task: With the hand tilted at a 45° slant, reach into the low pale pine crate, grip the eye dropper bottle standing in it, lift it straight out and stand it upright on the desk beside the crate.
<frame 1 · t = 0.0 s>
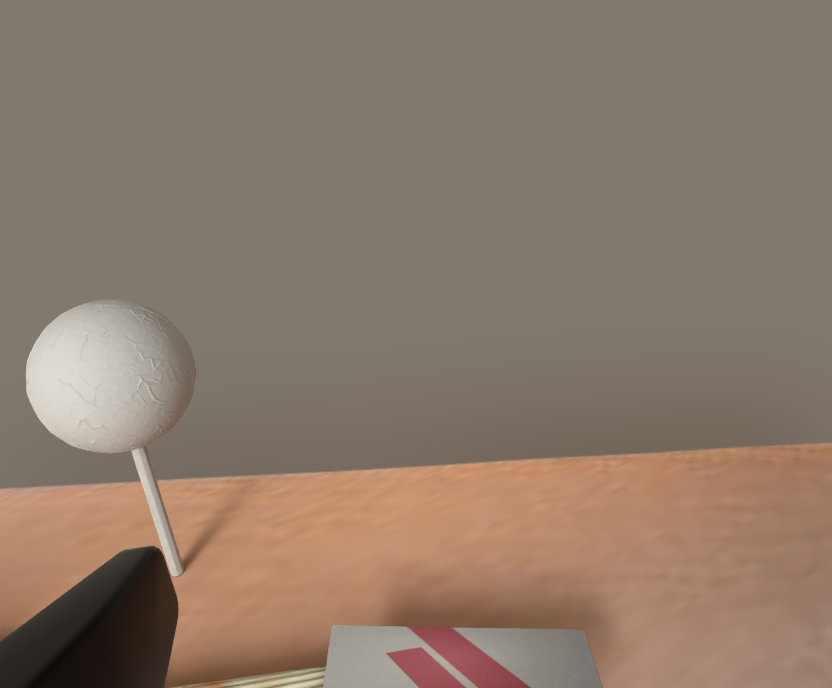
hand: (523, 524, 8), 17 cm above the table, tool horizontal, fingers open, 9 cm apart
lollipop: (178, 575, 34), on the table
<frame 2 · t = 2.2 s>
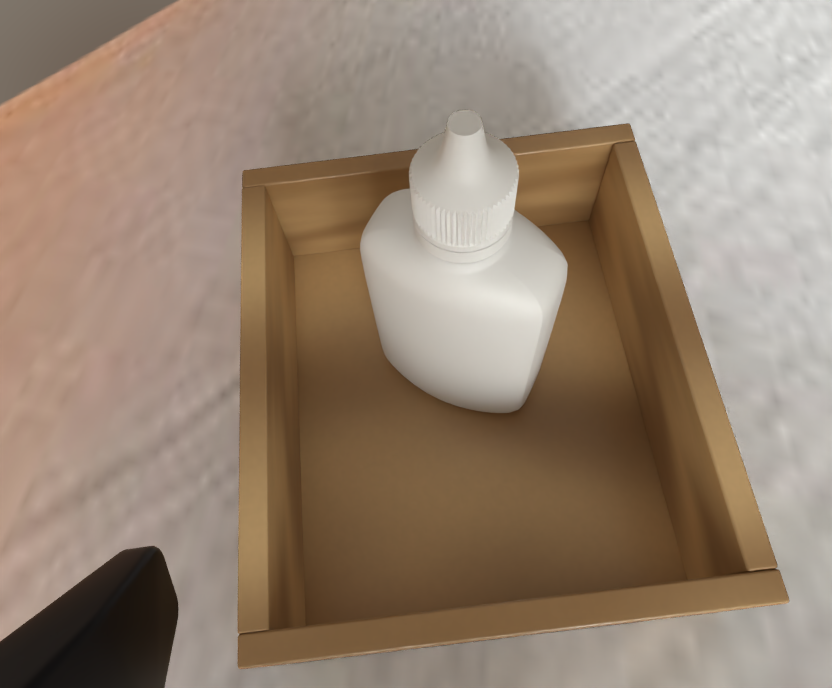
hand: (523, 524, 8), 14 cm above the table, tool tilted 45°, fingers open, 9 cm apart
eye dropper bottle: (459, 364, 24), resting on crate
crate: (465, 403, 23), on the table
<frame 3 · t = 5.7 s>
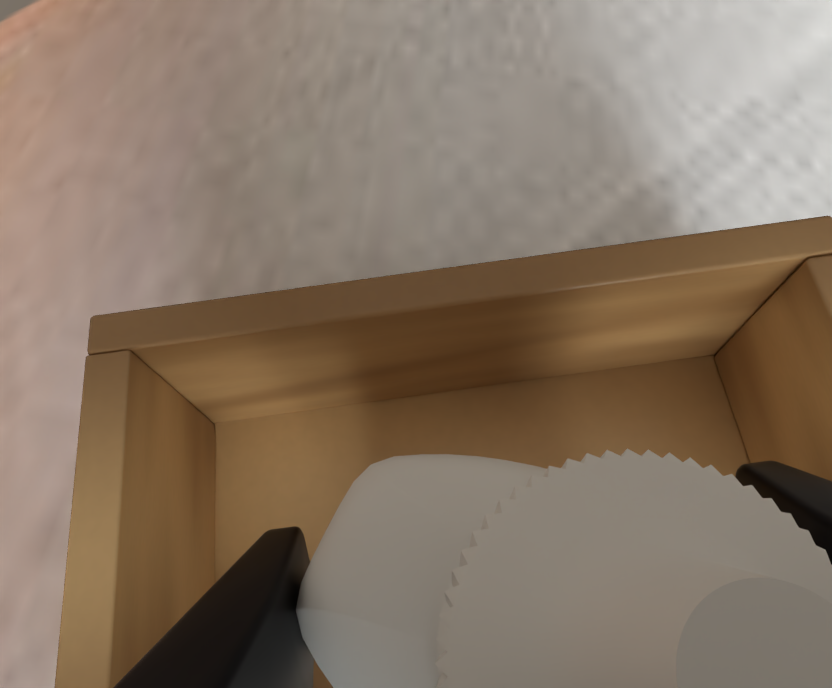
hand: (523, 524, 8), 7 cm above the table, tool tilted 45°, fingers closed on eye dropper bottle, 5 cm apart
eye dropper bottle: (505, 640, 13), resting on crate, touching gripper
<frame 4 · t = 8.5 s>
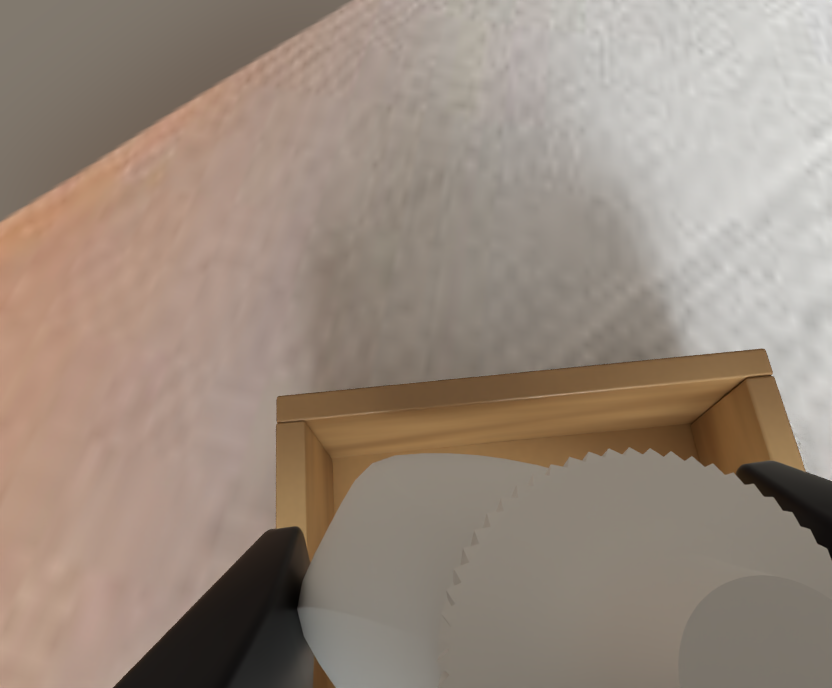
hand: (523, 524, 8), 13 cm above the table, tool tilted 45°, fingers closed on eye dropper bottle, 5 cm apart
eye dropper bottle: (506, 640, 13), point 7 cm above the table, touching gripper
crate: (543, 674, 19), on the table
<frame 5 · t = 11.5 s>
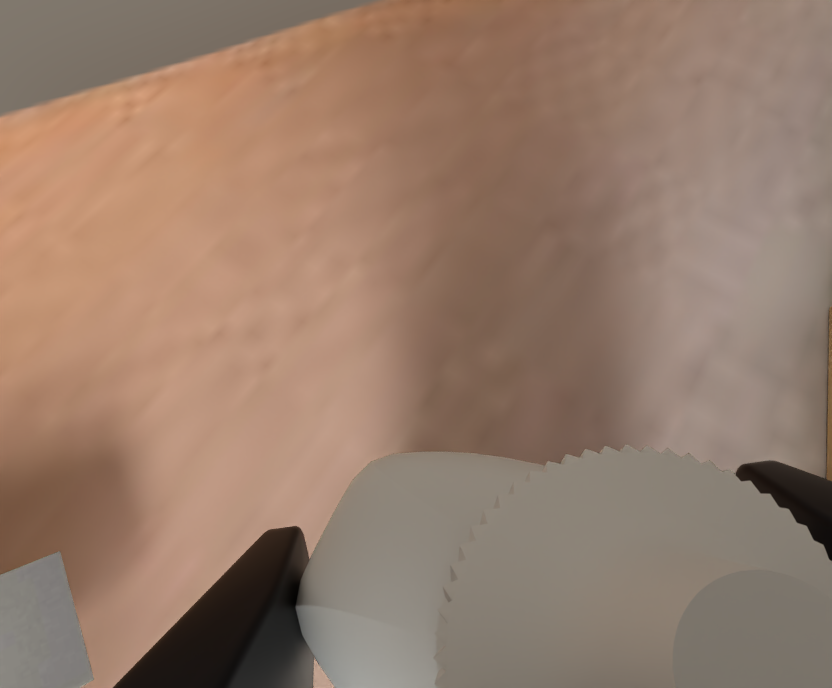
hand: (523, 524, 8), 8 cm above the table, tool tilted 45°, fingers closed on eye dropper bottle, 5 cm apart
eye dropper bottle: (505, 639, 13), point 1 cm above the table, touching gripper
when the fingers open (6 cm above the table, at t = 12.5 s): eye dropper bottle stays where it is, on the table.
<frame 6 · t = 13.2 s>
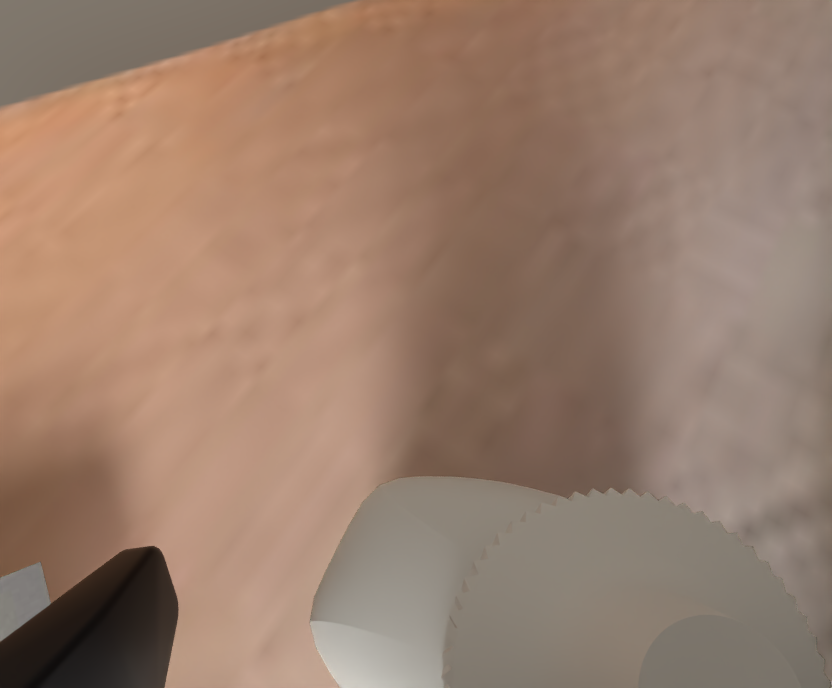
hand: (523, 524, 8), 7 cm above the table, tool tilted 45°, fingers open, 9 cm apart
eye dropper bottle: (504, 646, 14), on the table
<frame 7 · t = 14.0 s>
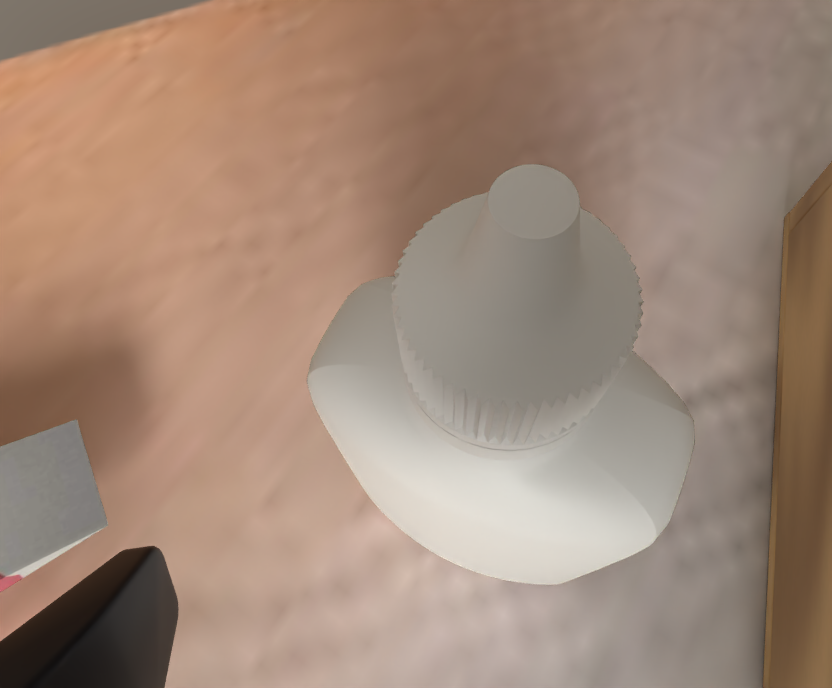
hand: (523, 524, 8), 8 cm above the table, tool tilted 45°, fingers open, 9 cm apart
eye dropper bottle: (475, 497, 16), on the table
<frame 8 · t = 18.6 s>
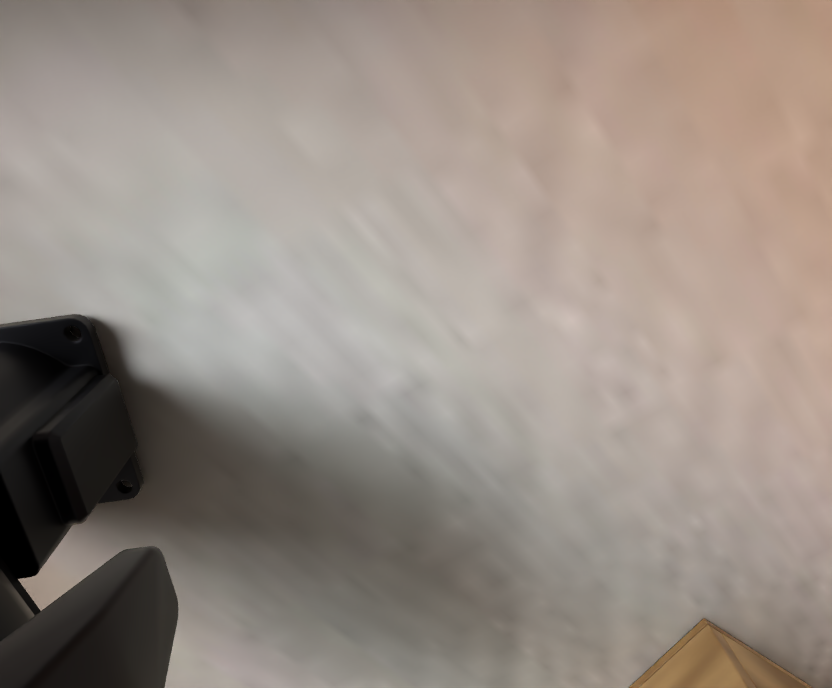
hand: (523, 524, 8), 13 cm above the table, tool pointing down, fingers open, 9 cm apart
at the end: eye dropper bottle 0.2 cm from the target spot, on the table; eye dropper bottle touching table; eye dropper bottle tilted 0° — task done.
